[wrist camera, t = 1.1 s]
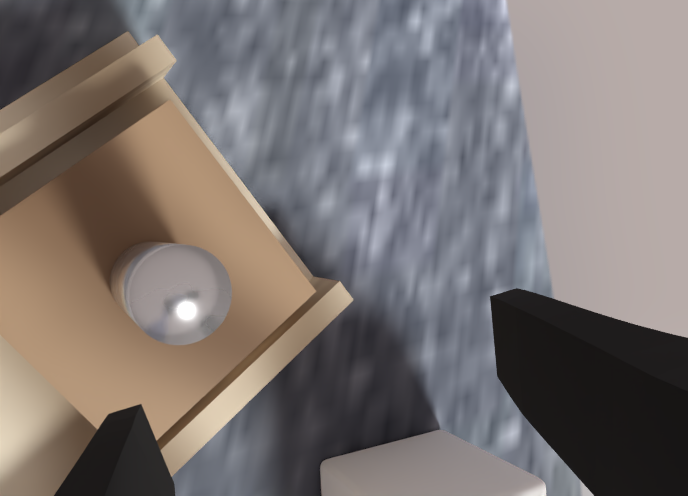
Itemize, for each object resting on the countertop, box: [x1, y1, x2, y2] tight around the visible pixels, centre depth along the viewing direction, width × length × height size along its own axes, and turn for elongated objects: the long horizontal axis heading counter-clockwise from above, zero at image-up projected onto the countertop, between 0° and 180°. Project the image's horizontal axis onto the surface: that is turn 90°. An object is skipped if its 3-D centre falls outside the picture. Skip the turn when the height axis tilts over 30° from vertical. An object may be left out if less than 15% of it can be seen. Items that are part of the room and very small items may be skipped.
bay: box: [0, 31, 353, 496], centre depth 19 cm, size 20×14×4 cm
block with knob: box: [0, 100, 316, 441], centre depth 17 cm, size 8×8×9 cm
